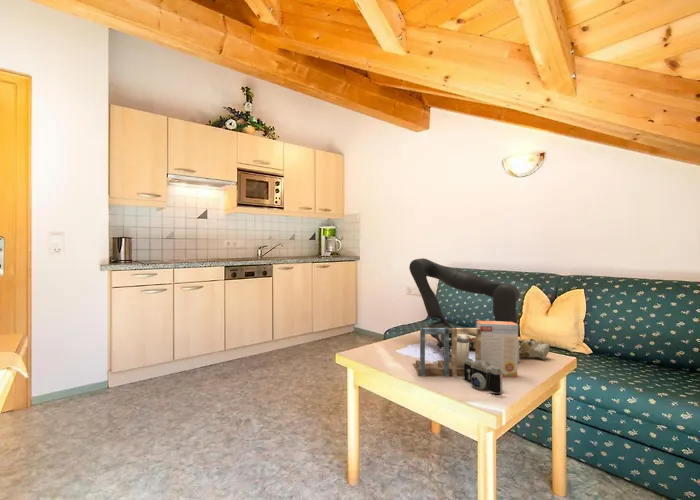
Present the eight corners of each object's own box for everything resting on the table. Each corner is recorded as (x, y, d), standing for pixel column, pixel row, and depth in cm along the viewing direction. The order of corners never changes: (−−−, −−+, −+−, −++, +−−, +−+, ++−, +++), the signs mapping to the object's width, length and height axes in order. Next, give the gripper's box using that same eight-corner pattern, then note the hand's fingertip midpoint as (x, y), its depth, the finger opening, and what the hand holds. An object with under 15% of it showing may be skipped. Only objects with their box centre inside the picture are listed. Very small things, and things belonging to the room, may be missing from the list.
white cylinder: (465, 368, 137) (466, 333, 136) (470, 373, 132) (471, 337, 131) (453, 368, 137) (453, 333, 136) (457, 373, 131) (457, 336, 131)
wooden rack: (469, 366, 142) (470, 320, 142) (482, 379, 128) (483, 329, 128) (412, 365, 142) (412, 320, 142) (418, 379, 128) (419, 328, 128)
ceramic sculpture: (550, 343, 145) (511, 340, 152) (551, 363, 145) (512, 360, 152) (548, 337, 155) (512, 335, 162) (549, 356, 155) (513, 353, 161)
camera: (456, 383, 124) (456, 356, 124) (468, 379, 128) (468, 353, 128) (492, 399, 112) (492, 369, 112) (504, 394, 115) (504, 365, 115)
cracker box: (511, 374, 133) (513, 321, 133) (517, 380, 127) (519, 324, 127) (474, 372, 135) (476, 319, 134) (479, 378, 129) (480, 323, 128)
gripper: (432, 329, 152) (442, 339, 136) (464, 329, 152) (478, 339, 135) (432, 346, 152) (442, 358, 136) (464, 346, 152) (477, 358, 136)
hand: (460, 349), depth 136 cm, fingers open, 8 cm apart
